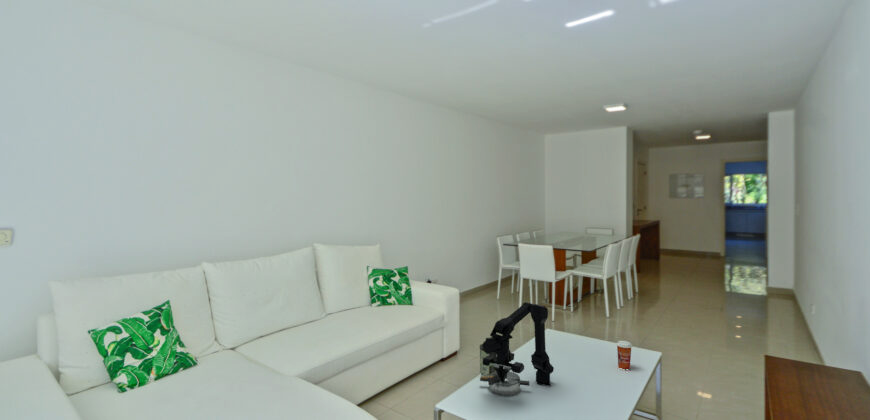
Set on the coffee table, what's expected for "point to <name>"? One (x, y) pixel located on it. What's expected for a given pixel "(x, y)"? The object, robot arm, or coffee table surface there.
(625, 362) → the paper cup
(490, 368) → the coffee can
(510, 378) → the lid
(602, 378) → the coffee table surface
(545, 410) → the coffee table surface
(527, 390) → the coffee table surface
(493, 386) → the pot
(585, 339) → the coffee table surface
